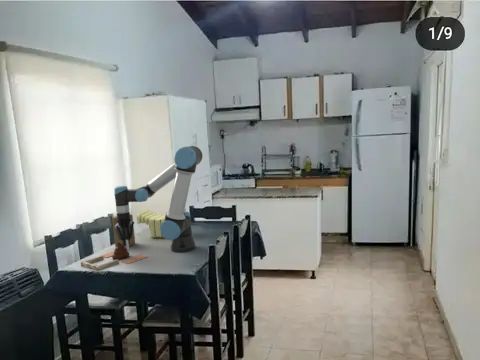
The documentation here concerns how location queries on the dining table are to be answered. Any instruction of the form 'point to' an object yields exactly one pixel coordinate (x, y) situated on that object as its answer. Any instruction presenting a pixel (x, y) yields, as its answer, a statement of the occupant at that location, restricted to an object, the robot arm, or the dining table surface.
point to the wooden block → (115, 220)
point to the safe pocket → (98, 267)
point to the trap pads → (126, 259)
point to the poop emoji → (120, 252)
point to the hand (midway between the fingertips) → (126, 250)
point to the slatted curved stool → (152, 221)
